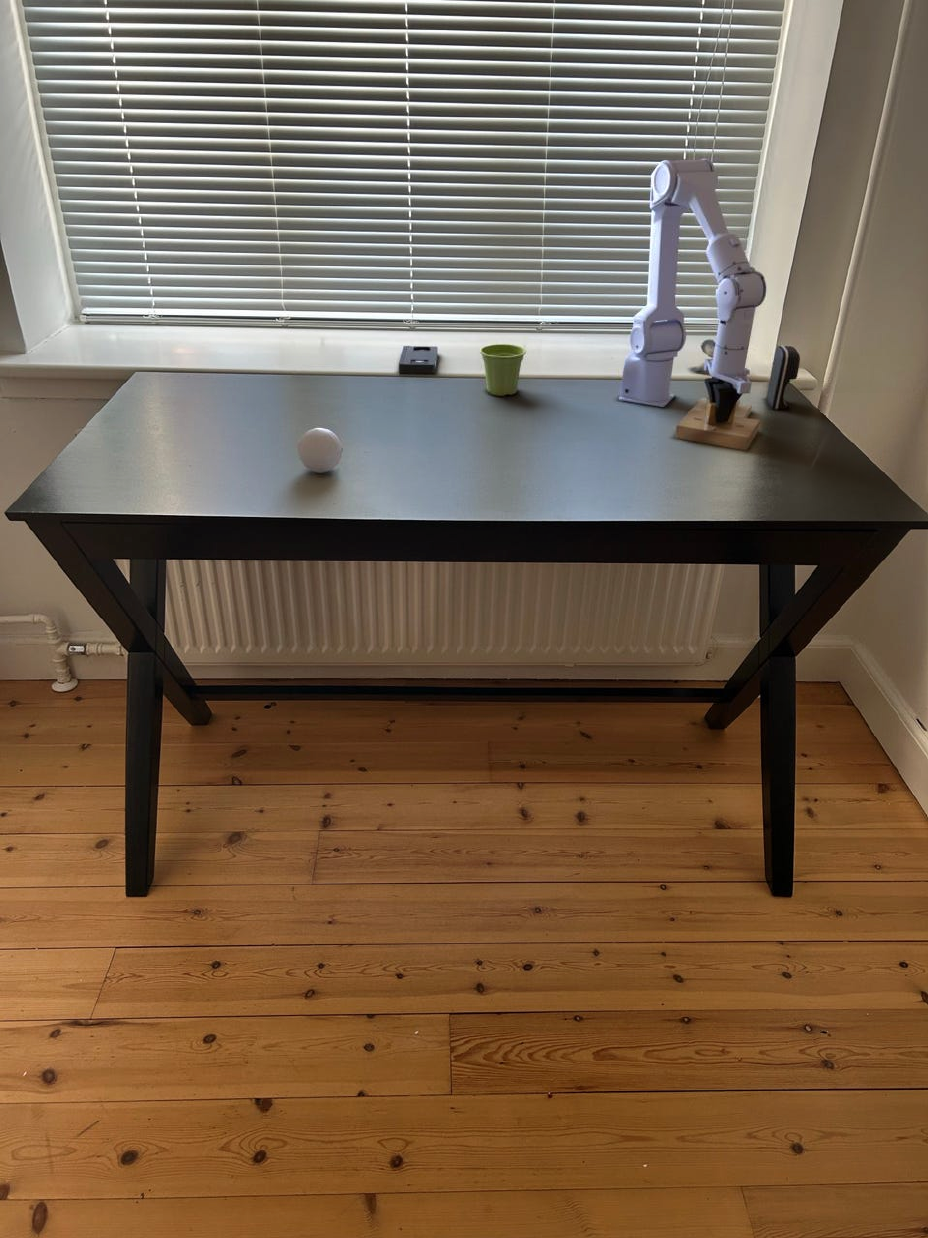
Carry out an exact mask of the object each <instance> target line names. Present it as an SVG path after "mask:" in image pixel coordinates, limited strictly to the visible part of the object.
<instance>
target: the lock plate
mask: <svg viewBox="0 0 928 1238" xmlns="http://www.w3.org/2000/svg"><path fill="white" fill-rule="evenodd" d="M705 417H706V411H700V410H693V408H691V409H689V411H688V412H687V413H686V414H685V415H684V416H683V418H681V420H680V421H679V423H677V425H676V429H675V435H674V436H675V437H674V438H675V439H679V440H685V441H691V442H697V443H703V444H709V445H714V446H720V447H724V448H725V447H726V448H731V449H737V450H741V451H747V450H748V449H749V447H750V445H751V443H752V442H753V440H754V439H755V437H756V436H757V434H758V432H759V427H760V422H761V420H760V419H754V418H748V417H747V418H743V417H737V416H734V419H733V423H721V424H707V423H706V422H705Z"/></svg>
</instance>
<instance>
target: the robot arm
mask: <svg viewBox="0 0 928 1238" xmlns="http://www.w3.org/2000/svg"><path fill="white" fill-rule="evenodd" d="M650 180H651V181H650V195H649V197H650V199H649V209H650V210H651V218H650V234H649V235H650V239H649V255H648V256H649V257H648V277H647V280H648V281H647V295H646V296H647V297H646V305H645V306H644V307H643V308H641V310H640V311H638V312H637V313H636V314H635V315H634V316H633V325H632V328H631V331H630V334H629V344H630V345H629V346H630V349H631V351H632V352H629V353H628V354H627V355H626V357H625V360H624V363H623V367H622V375H621V385H620V386H621V387H620V395H619V398H618V400H619V401H622V402H630V403H633V404H634V403H635V404H641V405H647V406H652V407H659V408H665V406H667V405H668V404H669V403H670V401H672V399H673V398H675V394H674V393H671V392H670V389H671V382H672V376H673V375H672V373H673V367H674V360H675V358H676V357H678V353H679V352H681V350H682V349H683V348H684V347H685V344H686V340H687V331H686V327H685V314H684V312H683V311H681V310H680V309H679V307H678V306H676V294H677V293H676V292H677V291H676V290H677V277H678V262H679V261H678V259H679V244H680V243H679V242H680V228H681V217H682V216H683V215H684V214H685V212H686V211H687V210H688V209H691V210H692V213H693V214H694V216H695V218H696V221H697V222H698V224H699V226H700V228H701V230H702V232H703V233H704V236H705V237H706V239H707V241H708V244H707V247H706V249H705V254H706V257H707V260H708V262H709V265H710V267H711V269H712V272H713V275H714V277H715V279H716V282H717V284H718V286H717V288H716V289H715V300H716V304H717V313H716V315H717V319H718V324H717V331H716V337H715V349H714V355H713V358H705V359H704V362H705V363H704V362H703V363H704V370H703V371H705V372H708V373H709V375H710V377H707V378H705V379H704V384H705V387H706V390H707V395H708V397H709V401H710V403H716V412H715V419H716V422H717V423H722V422H728V419H729V417H730V415H731V413H732V411H733V408H734V406H735V405H736V403H737V401H738V400H740V399H741V397H742V396H743V395H744V394H745V395H746V394H751V389H752V384H753V382H752V381H750V379H749V378H748V375H750V373H751V370H750V369H748V368H747V367H746V364H747V358H748V352H749V346H750V342H751V336H752V332H753V331H752V330H753V324H754V320H755V315H756V309H757V308H758V307H759V306H761V305H762V304H763V302H764V301H765V298H766V295H767V281H766V278H765V276H764V274H763V273H762V272H760V271H757V270H756V268H755V267H753V266H751V264H750V262H749V260H748V257H747V254H746V253H745V250H744V248H743V245H742V243H741V239H740V238H739V236H738V234H737V235H736V234H735V233H730V232H729V230H728V227H727V224H726V221H725V217H724V215H723V211H722V208H721V205H720V202H719V200H718V196H717V192H716V189H717V186H718V183H719V182H718V181H719V175H718V174H717V172H716V168H715V165H714V163H713V162H712V160H711V159H709V158H701V159H685V160H682V159H681V160H680V159H679V160H669V159H664V160H662V161H660V162H659V163H658V164H657V166H655V169H654V170H653V171H652V173H651V177H650Z"/></svg>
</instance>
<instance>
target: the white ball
mask: <svg viewBox="0 0 928 1238" xmlns="http://www.w3.org/2000/svg"><path fill="white" fill-rule="evenodd" d="M343 449H344V448H343V446H342V442H341V440H340V439H339V437H338V436H337V435H336V434H335V433H334V432H333V431H331V430H329V429H327V428H323V427H315V428H314V427H313V428H312V429H309V430H308V431H306V432H305V433H304V434H303V435H302V436H301V437H300V439H299V441H298V445H297V455H298V457H299V458H298V459H299V460H300V461H301V463H302V465H303V466H304V467H305V468H306V469H307V470H309V471H311V472H314V473H321V474H322V473H327V472H330V471H332V470H333V469H334V468H336V467H337V466H338V464H339V463H340V461H341V459H342V455H343V451H344V450H343Z"/></svg>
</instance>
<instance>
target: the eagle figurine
mask: <svg viewBox="0 0 928 1238" xmlns="http://www.w3.org/2000/svg"><path fill="white" fill-rule="evenodd" d="M715 343H716V341H714V339H710V338H709V339H705V340H704V341H702V343H701V344H700V349H701V350H702V353H704V354H705V355H706V356H708V357H709V358H711V359H713V355H714V349H715ZM704 363H705V361H704V362H702V363H700V364H699V365H697V366H695V367H692V368H691V371H693V372H700V371H705V370H704Z"/></svg>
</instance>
